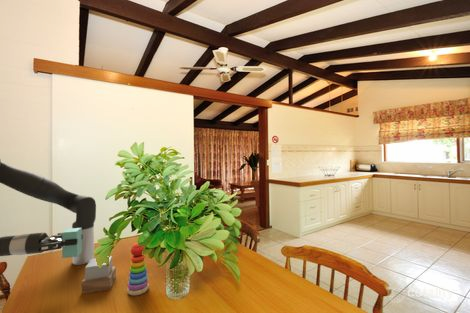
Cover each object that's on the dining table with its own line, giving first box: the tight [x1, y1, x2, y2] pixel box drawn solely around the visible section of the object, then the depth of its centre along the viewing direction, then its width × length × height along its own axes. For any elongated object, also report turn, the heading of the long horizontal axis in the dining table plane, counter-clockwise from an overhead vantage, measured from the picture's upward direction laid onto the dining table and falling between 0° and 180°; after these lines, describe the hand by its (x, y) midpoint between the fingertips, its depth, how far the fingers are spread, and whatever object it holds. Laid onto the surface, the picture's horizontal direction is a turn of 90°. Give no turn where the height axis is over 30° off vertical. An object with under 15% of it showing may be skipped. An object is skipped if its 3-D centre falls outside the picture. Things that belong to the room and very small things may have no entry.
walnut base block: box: [81, 265, 117, 294], centre depth 95 cm, size 10×10×5 cm
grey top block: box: [84, 255, 113, 280], centre depth 95 cm, size 8×8×5 cm
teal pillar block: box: [61, 227, 82, 259], centre depth 92 cm, size 5×5×10 cm
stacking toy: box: [126, 242, 150, 296], centre depth 91 cm, size 8×8×19 cm
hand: (79, 239), depth 93 cm, fingers closed on teal pillar block, 5 cm apart
